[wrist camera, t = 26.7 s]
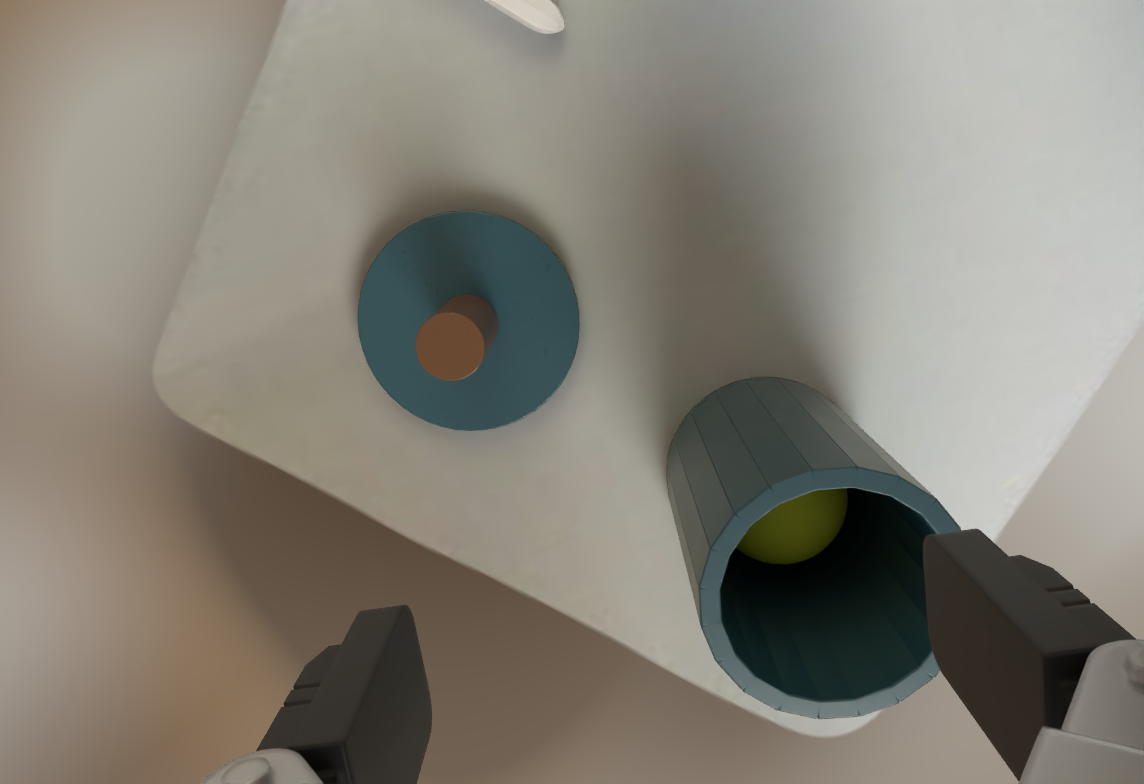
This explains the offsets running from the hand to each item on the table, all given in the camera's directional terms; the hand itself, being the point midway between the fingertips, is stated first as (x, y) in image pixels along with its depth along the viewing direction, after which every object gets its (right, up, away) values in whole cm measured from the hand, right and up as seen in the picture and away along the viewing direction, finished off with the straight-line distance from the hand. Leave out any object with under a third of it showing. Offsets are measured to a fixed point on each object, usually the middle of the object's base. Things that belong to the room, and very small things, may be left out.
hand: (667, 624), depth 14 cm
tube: (+8, 0, +33) cm, 34 cm away
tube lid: (-7, +7, +31) cm, 32 cm away
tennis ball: (+8, -1, +29) cm, 31 cm away
